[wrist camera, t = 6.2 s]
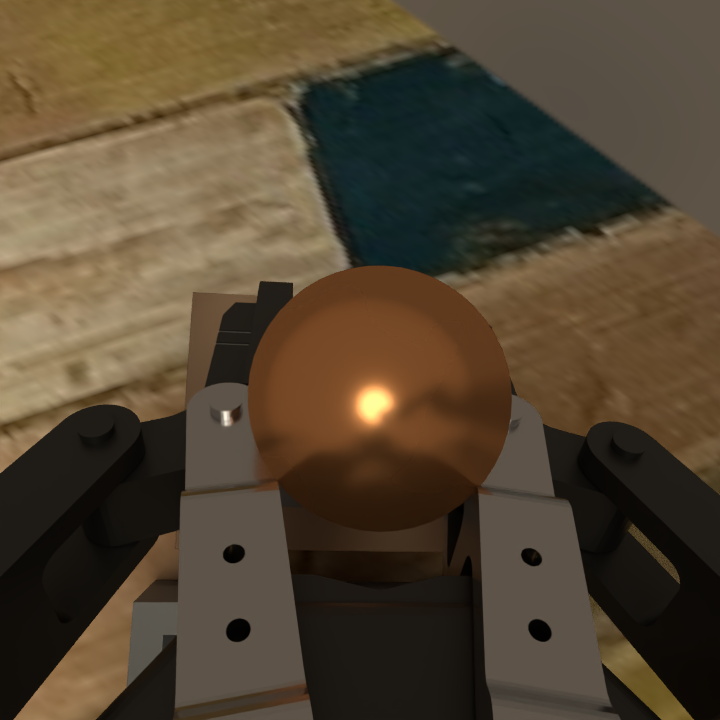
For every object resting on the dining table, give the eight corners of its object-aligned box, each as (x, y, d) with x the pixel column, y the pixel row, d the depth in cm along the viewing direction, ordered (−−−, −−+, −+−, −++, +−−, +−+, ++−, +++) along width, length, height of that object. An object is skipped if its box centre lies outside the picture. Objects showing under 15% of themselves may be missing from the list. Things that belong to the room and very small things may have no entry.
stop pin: (405, 355, 17) (511, 272, 8) (403, 479, 17) (512, 534, 8) (282, 350, 17) (254, 258, 8) (277, 476, 17) (240, 529, 8)
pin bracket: (449, 317, 24) (478, 294, 20) (446, 542, 23) (477, 564, 19) (202, 304, 23) (182, 277, 20) (186, 538, 22) (161, 560, 18)
